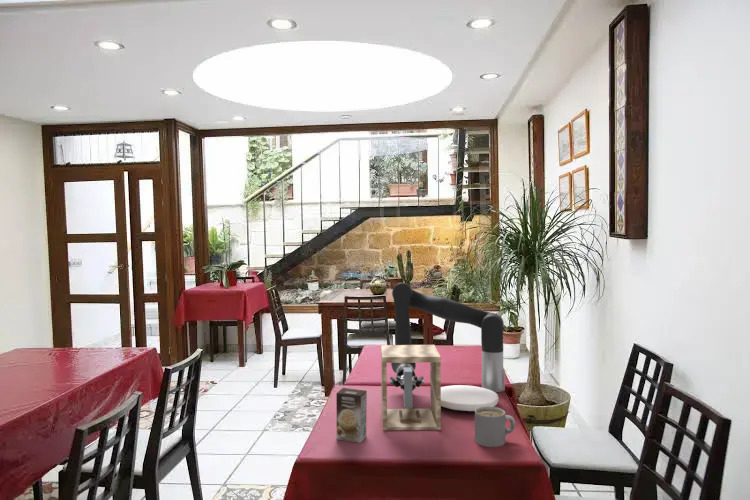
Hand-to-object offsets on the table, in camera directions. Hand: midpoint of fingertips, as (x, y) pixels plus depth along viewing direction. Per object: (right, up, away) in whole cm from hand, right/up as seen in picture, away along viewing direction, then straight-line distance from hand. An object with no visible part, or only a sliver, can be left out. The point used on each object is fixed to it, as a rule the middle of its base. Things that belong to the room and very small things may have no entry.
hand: (408, 387), depth 198 cm
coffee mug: (+27, -12, -22) cm, 38 cm away
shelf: (0, -11, -3) cm, 12 cm away
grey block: (0, -8, +3) cm, 9 cm away
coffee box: (-21, -13, -19) cm, 31 cm away
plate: (+24, -11, +14) cm, 30 cm away
